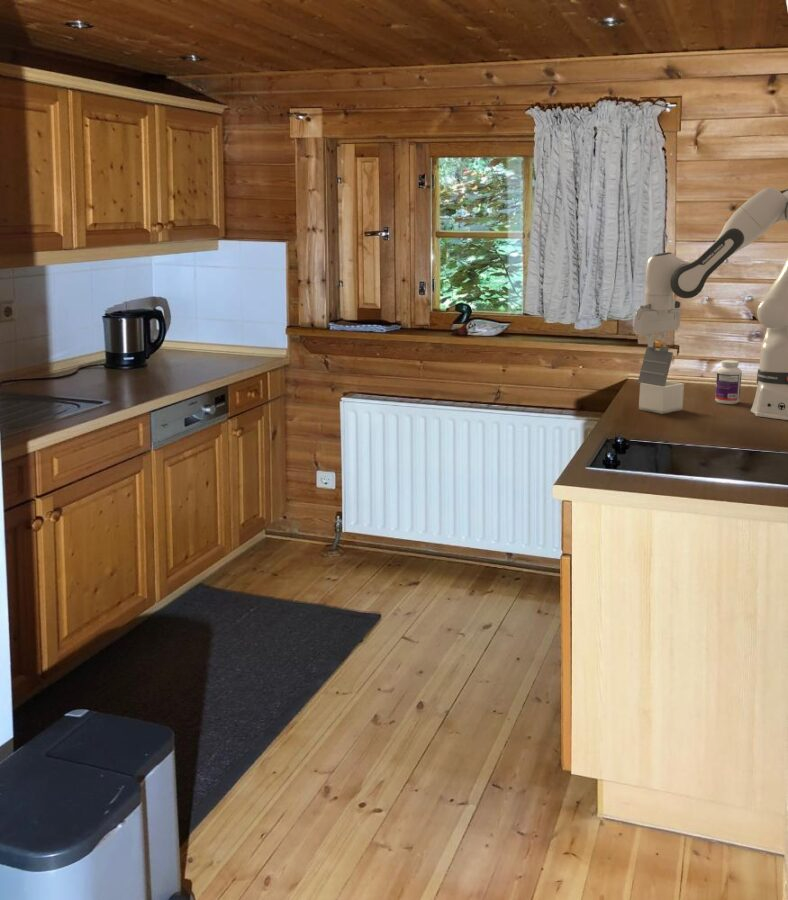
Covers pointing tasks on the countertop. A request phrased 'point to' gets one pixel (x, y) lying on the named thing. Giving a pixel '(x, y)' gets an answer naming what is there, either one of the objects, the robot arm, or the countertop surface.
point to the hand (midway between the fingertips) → (655, 346)
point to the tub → (661, 397)
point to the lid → (656, 365)
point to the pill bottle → (728, 383)
